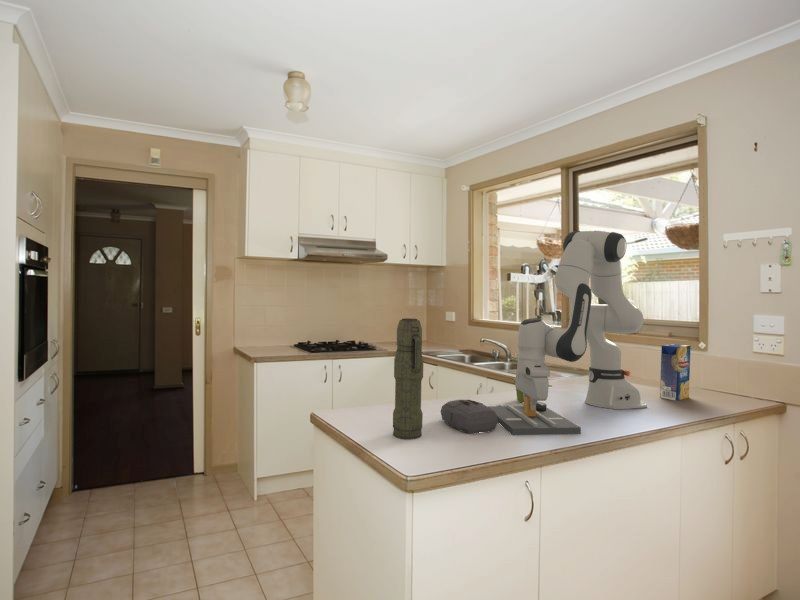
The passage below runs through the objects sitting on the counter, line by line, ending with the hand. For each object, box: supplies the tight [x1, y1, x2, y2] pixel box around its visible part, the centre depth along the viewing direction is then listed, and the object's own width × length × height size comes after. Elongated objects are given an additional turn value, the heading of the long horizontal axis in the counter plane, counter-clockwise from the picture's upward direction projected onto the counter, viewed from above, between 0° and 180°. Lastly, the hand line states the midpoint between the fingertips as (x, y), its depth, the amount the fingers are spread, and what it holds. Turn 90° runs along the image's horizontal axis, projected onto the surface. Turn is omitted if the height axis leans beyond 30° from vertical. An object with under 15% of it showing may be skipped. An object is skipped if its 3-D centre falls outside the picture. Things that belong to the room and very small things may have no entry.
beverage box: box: [659, 343, 692, 402], centre depth 211 cm, size 7×11×22 cm, turn 127°
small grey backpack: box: [440, 399, 498, 434], centre depth 163 cm, size 15×8×20 cm
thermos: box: [392, 318, 424, 440], centre depth 150 cm, size 9×12×35 cm
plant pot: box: [513, 377, 524, 403], centre depth 199 cm, size 9×9×9 cm
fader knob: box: [523, 396, 536, 416], centre depth 168 cm, size 3×3×6 cm
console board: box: [486, 401, 582, 436], centre depth 168 cm, size 22×28×4 cm
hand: (529, 408), depth 168 cm, fingers closed on fader knob, 3 cm apart
